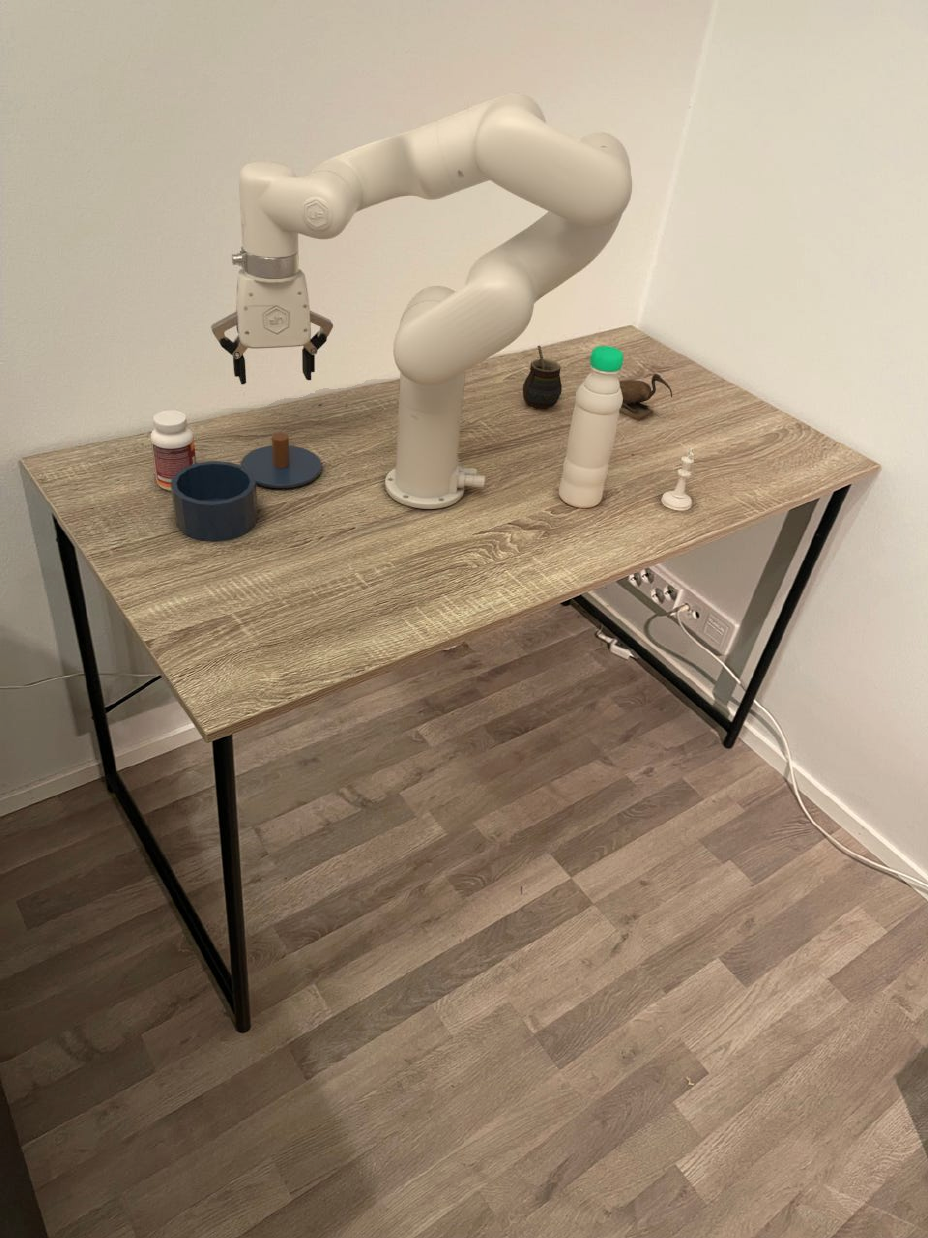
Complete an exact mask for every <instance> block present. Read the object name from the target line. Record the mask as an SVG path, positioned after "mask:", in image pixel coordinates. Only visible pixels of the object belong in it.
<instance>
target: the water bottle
mask: <svg viewBox="0 0 928 1238" xmlns="http://www.w3.org/2000/svg"><path fill="white" fill-rule="evenodd" d="M623 363H624V353H623V351H622V350H620V349H618V348H616V347H615V346H614V347H613V346H610V345H599V346H596V347H594V348H593V349H592V351H591V353H590V357H589V367H590V368H591V370H590V372H589V373H588V374H587V375H586V377H584V380H583V381H582V383H581V384H580V385H579V386H578V388H577V390H576V392H575V397H574V398H575V399H574V400H575V404H574V407H573V411H572V416H571V420H570V424H569V425H570V426H569V432H568V436H567V437H568V438H567V443H566V446H567V447H566V454H565V457H564V459H563V460H564V461H563V465H562V475H561V478H560V481H559V487H558V496H559V498H560V499H561V501H563V502H564V503H566V504H567V505H569V506H572V507H574V508H581V509H588V508H589V509H590V508H593V507H595V506H597V505H599V504H600V503H601V501H602V499H603V497H604V491H605V481H606V479H607V476H608V471H609V460H610V458H611V456H612V455H611V454H612V451H613V448H614V443H615V439H616V434H617V429H618V423H619V417H620V411H619V409H620V408H621V406H622V402H623V396H622V392H621V389H620V383H619V381H620V380H619V378H618V373H620V371H621V369H622V367H623Z"/></svg>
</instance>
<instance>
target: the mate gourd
mask: <svg viewBox="0 0 928 1238" xmlns="http://www.w3.org/2000/svg"><path fill="white" fill-rule="evenodd" d="M537 349H538V355H539V358H537V359H534V360H532V361H531V362H530V366H529V372H528V375H527V376H526V378H525V380H524V382H523V385H522V397H523V401H524V402H525V404H526V405H527V406H528V407H529V408H532V409H533V410H538V411H546V410H550V409H551V408H553V407H555V405H557V403H558V402H559V401H558V400H559V399H560V397H561V395H562V392H563V387H562V380H561V376H560V374H561V369H562V367H561V365H560V363H558V362H557V361H555V360H552V359H546V358H544V356H543V350H542V347H541V345H537Z"/></svg>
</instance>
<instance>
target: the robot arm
mask: <svg viewBox="0 0 928 1238" xmlns="http://www.w3.org/2000/svg"><path fill="white" fill-rule="evenodd" d="M629 157H630V156H629V154H628V152H627V150H626V148H625V146H624V144H623V143H622V142H621V141H620V140H619V139H618V138H617V137H616V136H614V135H612V134H610V133H607V132H601V131H600V132H599V131H597V132H593V133H589V134H587V135H585V136H583V137H581V138H580V139H578V138H576V137H573V136H571V135H569V134H567V133H565V132H563V131H562V130H559V129H558V128H556V127H553V126H552V125H551V124H549V123H547V120H546V117H545V115H544V112H543V110H542V109H541V107H540V106H539V104H538V103H537V101H536V100H534V99H533V98H531V97H530V96H528V95H527V94H524V93H520V92H512V93H506V94H503V95H499V96H496V97H494V98H491V99H489V100H486V101H483V102H480V103H478V104H475V105H473V106H471V107H468V108H465V109H463V110H460V111H458V112H455V113H452V114H450V115H448V116H445V117H443V118H439V119H438V120H434V121H432V122H430V123H427V124H424V125H422V126H419V127H416V128H413V129H409V130H406V131H403V132H400V133H398V134H394V135H392V136H387V137H383V138H380V139H378V140H375V141H371V142H369V143H366V144H364V145H361V146H358V147H355V148H352V149H350V150H347V151H345V152H342V153H340V154H337V155H335V156H333V157H331V158H328V159H325V160H324V161H322V162H321V163H319V164H318V165H316V166H315V167H314V168H313V169H312V170H311V171H310V172H309V174H307V175H304V176H301V177H297V175H296V172H295V171H294V169H292V168H290V166H288V165H285V164H283V163H279V162H275V161H274V162H273V161H254V162H249V163H247V164H245V165H244V166H242V167H241V169H240V171H239V173H238V192H239V193H238V194H239V195H238V196H239V211H240V212H239V213H240V214H239V215H240V229H241V231H240V232H241V246H240V249H241V250H239V253H236V254H231V263H232V265H233V266H238V267H241V268H240V269H239V270H238V275H237V281H236V292H235V293H236V294H235V311H234V312H232V313H230V314H229V315H226V316H225V317H223V318H221V319H220V320H217V321H216V322H214V323H212V324H211V326H210V330H211V333H212V334H213V335H214V337H215V339H216V340H217V342H218V343H219V345H220V347H221V348H222V349H224V350H225V351H226V352H227V353H229V354H230V355H231V356H232V366H233V375H234V377H235V378H237V377H238V380H239V382H240V385H246V384H247V372H246V359H245V356H244V353H245V352H246V351H247V350H248V349H257V350H258V349H275V348H277V349H279V348H296V347H302V349H301V362H302V364H301V366H302V367H301V369H302V374H303V376H304V378H305V380H307V381H312V373H315V372H316V368H315V367H316V355H317V354H318V350H319V349H320V348H321V347H323V345H324V344H325V343H327V339H328V337H329V336H330V334H331V332H332V330H333V328H334V324H333V322H332V320H331V319H330V318H327V317H325V316H323V315H321V314H319V313H317V312H314V311H312V310H310V298H309V291H308V284H307V279H306V275H305V272H304V271H303V270H302V269H300V266H299V265H300V263H299V262H300V261H299V260H300V259H299V258H300V257H299V234H300V235H302V236H306V237H309V238H313V239H317V240H331V239H334V238H336V237H338V236H340V235H341V234H342V233H343V231H345V229H346V228H347V226H348V225H349V223H350V221H351V220H352V218H353V217H354V215H355V214H356V213H358V212H359V211H363V210H365V209H368V208H370V207H373V206H375V205H378V204H381V203H383V202H387V201H391V200H393V199H397V198H401V197H411V196H413V197H417V198H421V199H423V200H429V201H430V200H431V201H433V200H434V201H435V200H439V199H442V198H446V197H447V196H451V195H453V194H455V193H458V192H460V191H463V190H467V189H468V188H469V189H470V188H471V187H474V186H477V185H480V184H483V183H485V182H488V181H491V182H492V183H493V184H495V185H496V186H498V187H500V188H502V189H504V190H505V191H506V192H509V193H511V194H513V195H514V196H516V197H518V198H520V199H523V200H525V201H526V202H528V203H531V204H532V205H535V206H536V207H539V208H541V209H543V210H545V211H547V212H546V213H545V214H544V215H542V216H541V217H540V218H538V219H537V220H536V221H535V222H533V223H531V224H530V225H529V226H528V227H526V228H524V229H522V231H520V232H518V233H517V234H515V235H514V236H512V237H511V238H509V239H507V240H506V241H504V242H503V243H502V244H500V245H498V246H497V247H494V248H493V249H492V250H489V251H488V252H486V253H484V254H483V255H481V256H480V257H479V258H478V259H476V260H475V261H474V262H473V264H472V265H471V267H470V269H469V270H468V273H467V276H466V279H465V282H464V285H463V286H462V287H460V288H458V289H457V290H456V291H455V290H453V289H451V288H449V287H447V286H441V285H432V286H427V287H425V288H423V289H421V290H419V291H418V292H416V293H415V294H414V295H413V297H412V298H411V299H410V300H409V301H408V303H407V305H406V307H405V309H404V312H403V314H402V316H401V318H400V322H399V325H398V328H397V331H396V333H395V337H394V341H393V351H392V352H393V358H394V362H395V365H396V367H397V369H398V371H399V372H400V374H399V375H400V376H399V391H398V393H399V394H398V410H397V429H396V430H397V431H396V432H397V433H396V451H395V452H396V453H395V455H396V456H395V467H394V468H393V469H391V470H390V471H389V472H388V473H387V475H386V477H385V481H384V487H385V490H386V493H387V494H388V495H389V496H390V497H391V498H392V499H393V500H394V501H396V502H397V503H399V504H401V505H404V506H406V507H410V508H415V509H422V510H435V509H442V508H446V507H449V506H452V505H454V504H455V503H457V502H459V501H460V500H461V499H462V497H464V493H465V487H472V488H481V489H484V488H485V482H486V481H485V480H486V476H485V475H483V474H482V475H481V474H478V468H476V467H475V468H474V467H469V468H468V467H463V465H460V457H458V456H459V446H460V437H461V427H462V426H461V423H462V415H463V414H462V413H463V405H464V397H465V387H466V385H465V383H466V375H467V371H469V370H470V369H473V368H474V367H476V366H477V365H479V364H481V363H483V362H484V361H486V360H487V359H489V358H490V357H493V356H494V355H496V354H498V353H499V352H501V351H502V350H504V349H505V348H507V347H508V346H510V345H511V344H513V342H515V341H516V340H517V339H518V338H519V337H520V336H521V335H522V334H523V333H524V332H525V330H526V329H527V327H528V326H529V325H530V322H531V319H532V316H533V314H534V309H535V304H536V303H537V302H538V301H539V300H540V299H542V298H543V297H544V296H545V295H547V294H549V293H550V292H552V291H553V290H555V289H557V288H558V287H559V286H561V285H562V284H564V283H565V282H567V281H568V280H569V279H571V278H572V277H573V276H575V275H577V274H578V273H580V272H581V271H583V270H584V269H585V268H586V267H587V266H589V265H590V264H591V263H592V262H593V261H594V260H595V259H596V258H597V257H598V256H599V255H600V254H601V253H602V251H604V249H605V248H606V247H607V245H608V244H609V242H610V240H611V239H612V237H613V236H614V234H615V232H616V229H617V228H618V227H619V223H620V221H621V218H622V216H623V213H624V212H625V211H626V209H627V208H628V206H629V204H630V201H631V197H632V193H633V177H632V169H631V167H632V166H631V162H630V161H631V160H630V158H629ZM312 324H314V325H316V326H318V327H319V329H318V331H317V332H316V333H315V334H314V335H313V336H312ZM234 327H236V332H237V334H238V335H237V336H236V337H235V338H234V340H233V341H232V340H231V339H230V338H229V337H227V336H226V334H225V332H227V331H228V330H230V329H232V328H234Z"/></svg>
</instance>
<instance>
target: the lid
mask: <svg viewBox="0 0 928 1238" xmlns="http://www.w3.org/2000/svg"><path fill="white" fill-rule="evenodd" d="M240 465H241V466H243V467H245V468H246V469H247V470H249V471H250V472H252V473H253V476H254V478H255V480H256V485H259V486H261V487H262V486H263V487H265V488H273V489H289V488H290V489H291V488H296V487H301V486H305V485H306V484H309V483H311V482H313V481H314V480H316V479H317V478H318V476H320V474H321V471H322V462H321V459H320V457H319V456H318V455H316V454H315V453H314V452H313V451H311V450H309V449H306V448H304V447H301V446H296V445H291V444H290V437H289V434H287V433H285V432H275V433H272V434H271V445H266V446H262V447H257V448H256V449H253V450H252V451H249V452H248V453H247V454H245V455H244V457H242V460H241V461H240Z"/></svg>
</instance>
